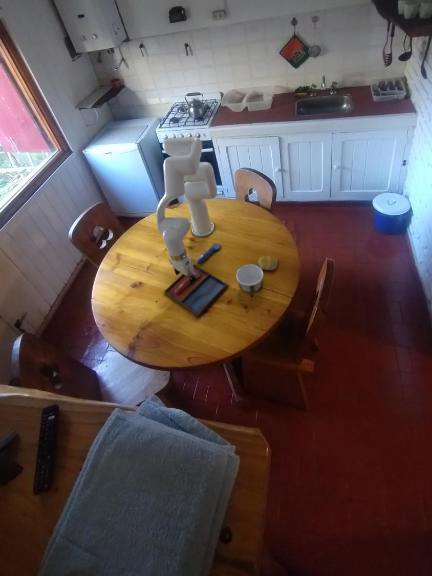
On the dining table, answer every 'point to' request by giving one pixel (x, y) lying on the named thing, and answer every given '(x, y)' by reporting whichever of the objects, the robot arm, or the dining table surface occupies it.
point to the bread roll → (268, 262)
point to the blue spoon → (208, 253)
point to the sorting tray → (197, 291)
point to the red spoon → (185, 284)
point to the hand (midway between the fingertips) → (186, 277)
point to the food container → (250, 277)
